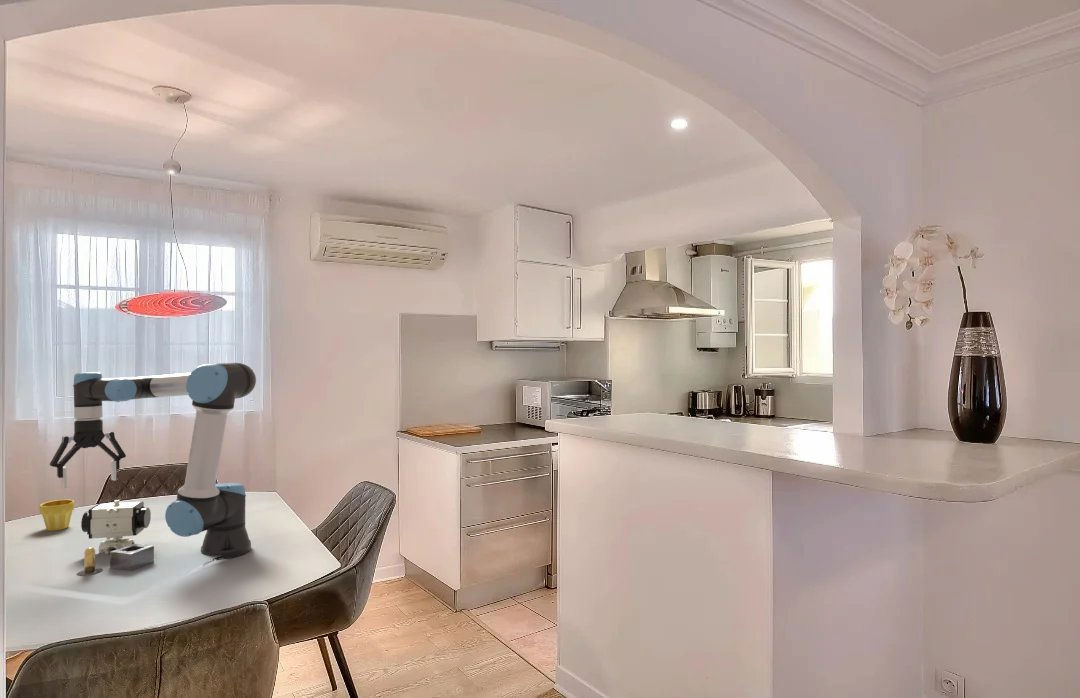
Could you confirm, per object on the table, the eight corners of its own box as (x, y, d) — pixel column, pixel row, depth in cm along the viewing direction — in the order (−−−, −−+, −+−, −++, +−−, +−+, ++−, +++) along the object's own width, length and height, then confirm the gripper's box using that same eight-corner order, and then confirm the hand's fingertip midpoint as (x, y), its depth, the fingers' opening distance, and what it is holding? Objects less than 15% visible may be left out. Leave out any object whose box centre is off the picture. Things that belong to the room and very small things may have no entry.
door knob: (108, 574, 186) (108, 545, 186) (87, 581, 180) (87, 552, 180) (91, 572, 188) (91, 543, 188) (71, 579, 181) (70, 550, 181)
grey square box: (153, 561, 192) (153, 545, 192) (131, 570, 185) (131, 554, 185) (133, 559, 194) (133, 543, 194) (110, 568, 187) (110, 551, 187)
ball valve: (78, 560, 197) (78, 505, 197) (90, 552, 206) (90, 499, 205) (142, 555, 202) (142, 502, 202) (151, 547, 210) (151, 496, 210)
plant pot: (40, 534, 225) (40, 507, 225) (39, 527, 233) (39, 502, 233) (75, 528, 232) (75, 503, 232) (73, 522, 240) (73, 497, 240)
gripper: (128, 414, 213) (129, 475, 213) (37, 422, 194) (38, 489, 194) (135, 416, 208) (136, 478, 208) (43, 423, 189) (44, 492, 189)
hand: (89, 483), depth 201 cm, fingers open, 13 cm apart
